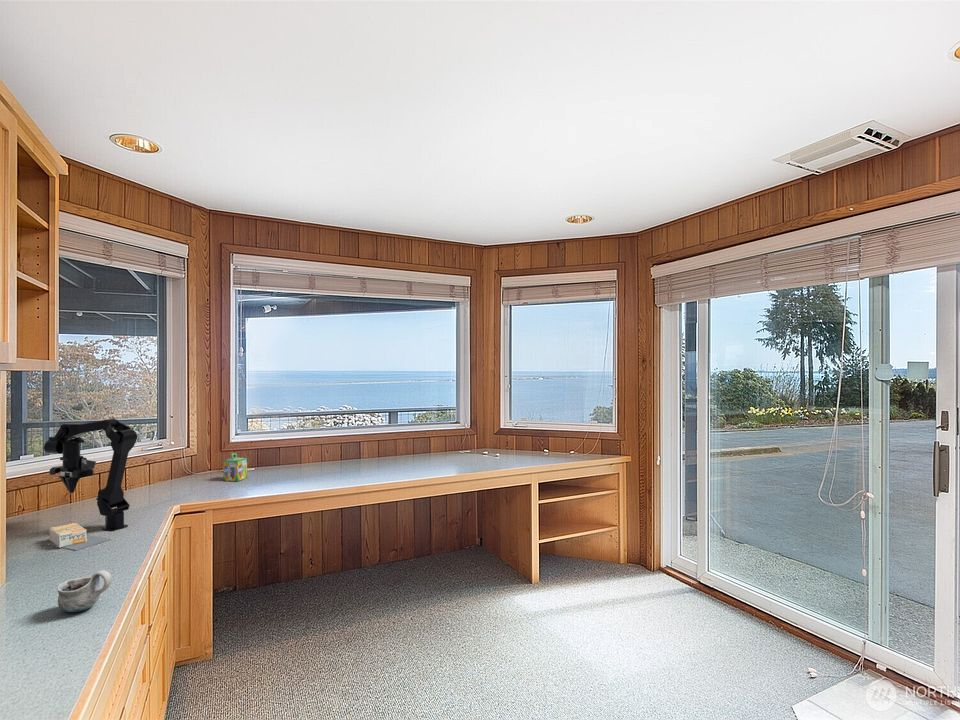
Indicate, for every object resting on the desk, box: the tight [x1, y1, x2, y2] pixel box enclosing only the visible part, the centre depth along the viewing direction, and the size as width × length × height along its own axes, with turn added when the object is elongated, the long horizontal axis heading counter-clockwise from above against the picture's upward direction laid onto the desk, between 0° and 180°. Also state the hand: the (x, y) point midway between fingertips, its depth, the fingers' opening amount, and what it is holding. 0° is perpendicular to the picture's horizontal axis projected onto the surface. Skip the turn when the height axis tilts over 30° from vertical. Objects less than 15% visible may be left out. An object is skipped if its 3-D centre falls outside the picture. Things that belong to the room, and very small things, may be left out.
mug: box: [56, 569, 112, 613], centre depth 145 cm, size 10×12×10 cm
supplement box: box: [49, 522, 87, 548], centre depth 198 cm, size 8×5×13 cm
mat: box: [48, 534, 112, 551], centre depth 198 cm, size 16×12×1 cm
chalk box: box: [222, 452, 248, 482], centre depth 299 cm, size 9×9×15 cm
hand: (71, 492), depth 218 cm, fingers closed
